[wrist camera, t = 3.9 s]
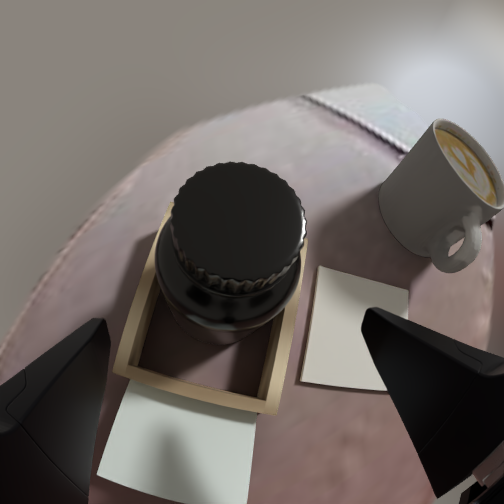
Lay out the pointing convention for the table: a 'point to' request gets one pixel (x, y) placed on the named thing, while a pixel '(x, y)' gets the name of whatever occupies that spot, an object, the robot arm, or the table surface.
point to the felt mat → (346, 329)
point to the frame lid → (180, 447)
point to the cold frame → (129, 368)
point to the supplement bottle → (230, 251)
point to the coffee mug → (442, 196)
